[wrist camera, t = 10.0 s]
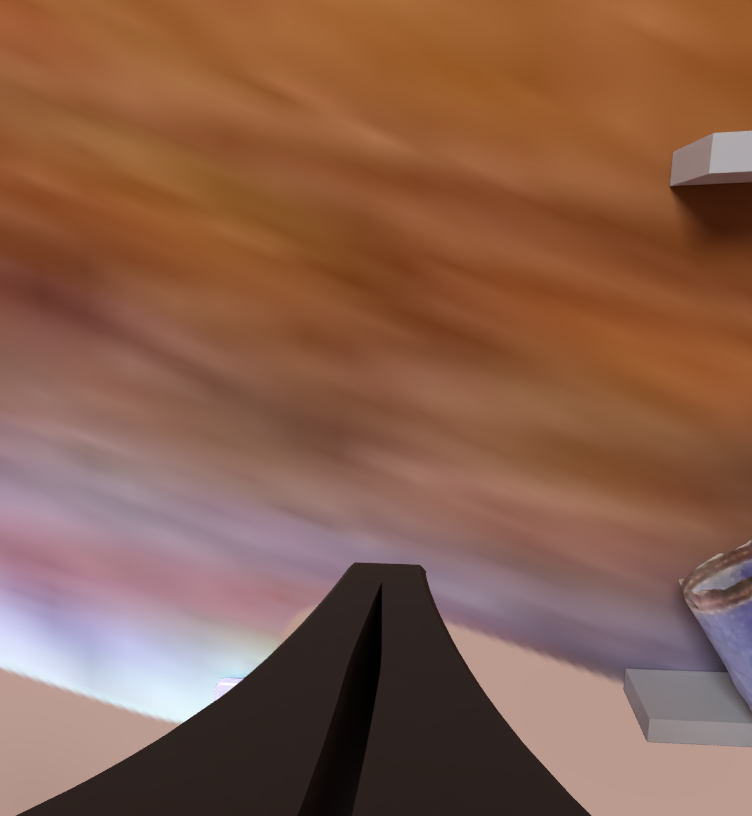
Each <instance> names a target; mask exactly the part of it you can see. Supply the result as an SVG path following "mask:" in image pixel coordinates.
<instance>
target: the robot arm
mask: <svg viewBox="0 0 752 816" xmlns="http://www.w3.org/2000/svg"><path fill="white" fill-rule="evenodd" d="M214 697H215V701H214V702H213V703H211V704H210V705H209V706H207V707H206V708H204V709H203V710H201V711H200V712H198V713H197V714H195V715H194V716H192V717H191V718H190V719H188V720H187V721H185V722H184V723H182V724H181V725H179V726H178V727H176V728H175V729H174V730H172V731H171V732H169V733H168V734H166V735H165V736H163V737H161V738H160V739H159V740H157V741H155V742H154V743H152V744H150V745H148V746H147V747H145V748H143V749H142V750H140V751H138V752H137V753H135V754H134V755H132V756H130V757H128V758H127V759H125V760H123V761H121V762H120V763H118V764H116V765H114V766H112V767H111V768H109V769H107V770H105V771H103V772H102V773H100V774H98V775H96V776H95V777H93V778H91V779H89V780H87V781H85V782H83V783H81V784H79V785H77V786H76V787H74V788H72V789H70V790H68V791H66V792H64V793H62V794H59V795H57V796H55V797H54V798H51V799H49V800H47V801H45V802H43V803H41V804H39V805H37V806H35V807H33V808H31V809H29V810H27V811H25V812H23V813H20V814H18V815H17V816H591V815H590V814H589V813H588V812H587V811H586V810H585V809H584V808H583V807H582V806H581V805H580V804H579V803H578V802H577V801H576V800H575V799H574V798H573V797H572V796H571V795H570V794H569V793H568V792H567V791H566V789H565V788H564V787H563V786H562V785H561V784H560V783H559V782H558V781H557V780H556V779H555V777H554V776H553V775H552V774H551V773H550V772H549V771H548V770H547V769H546V768H545V767H544V765H543V764H542V763H541V762H540V761H539V760H538V759H537V758H536V757H535V756H534V755H533V753H532V752H531V751H530V750H529V749H528V748H527V747H526V746H525V745H524V743H523V742H522V741H521V740H520V738H519V737H518V736H517V735H516V733H515V732H514V731H513V730H512V729H511V727H510V726H509V724H508V723H507V722H506V721H505V719H504V718H503V717H502V716H501V714H500V713H499V712H498V710H497V709H496V708H495V706H494V705H493V703H492V702H491V701H490V699H489V698H488V697H487V695H486V694H485V692H484V691H483V689H482V688H481V687H480V685H479V683H478V682H477V680H476V679H475V677H474V676H473V674H472V673H471V671H470V670H469V668H468V666H467V664H466V663H465V661H464V659H463V658H462V656H461V654H460V653H459V651H458V649H457V647H456V646H455V644H454V642H453V640H452V638H451V636H450V634H449V632H448V630H447V628H446V626H445V624H444V622H443V620H442V618H441V616H440V614H439V612H438V609H437V607H436V605H435V602H434V600H433V597H432V595H431V592H430V589H429V586H428V582H427V578H426V571H425V570H424V569H423V568H422V567H421V566H420V565H409V564H381V563H354V564H353V565H352V566H350V567H349V568H348V570H347V571H346V572H345V574H344V575H343V576H342V577H341V579H340V580H339V581H338V583H337V584H336V585H335V586H334V587H333V589H332V590H331V591H330V592H329V594H328V595H327V596H326V597H325V598H324V599H323V601H322V602H321V603H320V604H319V605H318V606H317V607H316V609H315V610H314V611H313V612H312V613H311V614H310V615H309V616H308V617H307V619H306V620H305V621H304V622H303V623H302V624H301V625H300V626H299V627H298V628H297V629H296V630H295V631H294V632H293V633H292V634H291V636H289V637H288V638H287V639H286V640H285V641H284V642H283V643H282V644H281V645H280V646H279V647H278V648H277V649H276V650H275V651H274V652H273V653H272V654H271V655H270V656H269V657H268V658H267V659H266V660H265V661H263V662H262V663H261V664H260V665H259V666H258V667H257V668H256V669H254V670H253V671H252V672H251V673H250V674H249V675H247V676H246V677H245V678H244V679H240V678H222V679H221V680H219V681H218V683H217V684H216V686H215V688H214Z"/></svg>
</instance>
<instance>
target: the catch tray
mask: <svg viewBox="0 0 752 816" xmlns="http://www.w3.org/2000/svg"><path fill="white" fill-rule="evenodd" d="M742 182H752V131H741V132H724V133H713V134H710V135H708V136H706V137H704V138H702V139H700V140H698V141H695V142H693V143H691V144H689V145H687V146H685V147H682V148H680V149H678V150H676V151H674V152H673V159H672V170H671V181H670V186H683V185H703V184H722V183H742ZM624 692H625V694H626V696H627V698H628V701H629V703H630V705H631V707H632V709H633V712H634V714H635V716H636V718H637V720H638V723H639V725H640V727H641V729H642V731H643V734H644V736H645V738H646V740H647V742H660V743H680V744H700V745H720V746H739V747H752V711H751V710H750V708H749V705H748V703H747V702H746V701H745V699H744V698H743V696H742V695H741V694H740V692H739V691H738V690H737V688H736V687H735V685H734V683H733V681H732V679H731V677H730V675H729V673H728V672H704V671H677V670H649V669H625V679H624Z"/></svg>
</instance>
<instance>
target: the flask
mask: <svg viewBox="0 0 752 816" xmlns="http://www.w3.org/2000/svg"><path fill="white" fill-rule="evenodd" d="M679 581H680V585H681V588H682V591H683V595H684V598H685V601H686V603H687V604H688V606H689V607H690V609H691V611H692V612H693V614H694V615H695V617H696V619H697V620H698V622H699V623H700V625H701V626H702V628H703V630H704V631H705V633H706V635H707V637H708V638H709V640H710V641H711V643H712V645H713V647H714V648H715V650H716V652H717V653H718V655H719V657H720V658H721V660H722V661H723V663H724V665H725V666H726V668H727V670H728V673H729V675H730V677H731V679H732V681H733V683H734V685H735V687H736V688H737V690H738V691H739V692H740V694H741V695H742V696H743V698H744V699H745V701H746V702H747V703H748V705H749V708H750V710H751V711H752V540H750V541H749V542H748V543H746V544H744V545H742V546H741V547H737V548H736V549H735V550H734V551H732V552H730V553H729V556H723V553H720V554H717V556H715V557H713V558H711V559H710V560H709V561H708V560H707V561H706V562H705V563H703V564H701V565H700V566H698V567H697V568H696V570H695V571H694V572H693V574H692V575H690V576H689V577H688V578H687V579H685V580H684V578H683V579H680V580H679Z"/></svg>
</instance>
